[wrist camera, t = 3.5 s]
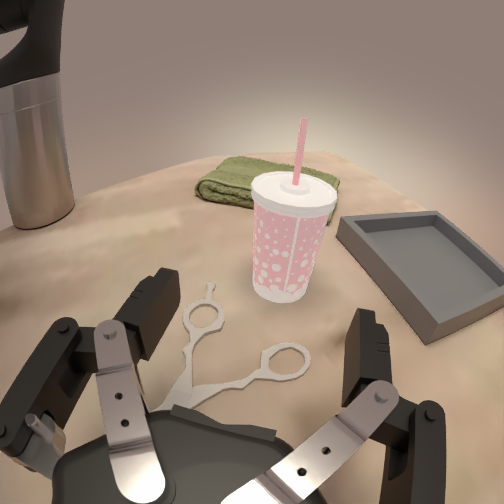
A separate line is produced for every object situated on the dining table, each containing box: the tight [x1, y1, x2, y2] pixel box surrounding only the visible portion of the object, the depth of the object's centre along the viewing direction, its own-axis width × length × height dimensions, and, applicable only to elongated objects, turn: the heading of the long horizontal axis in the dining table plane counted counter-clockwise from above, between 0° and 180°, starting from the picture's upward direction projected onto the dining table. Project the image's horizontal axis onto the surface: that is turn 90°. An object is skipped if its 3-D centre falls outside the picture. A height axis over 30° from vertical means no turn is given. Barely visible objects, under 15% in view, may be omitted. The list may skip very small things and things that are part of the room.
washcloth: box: [195, 156, 340, 223], centre depth 42 cm, size 13×18×3 cm
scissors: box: [44, 282, 311, 477], centre depth 18 cm, size 11×1×20 cm
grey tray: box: [336, 211, 504, 345], centre depth 30 cm, size 16×16×2 cm
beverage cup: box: [251, 117, 337, 303], centre depth 23 cm, size 6×6×14 cm
